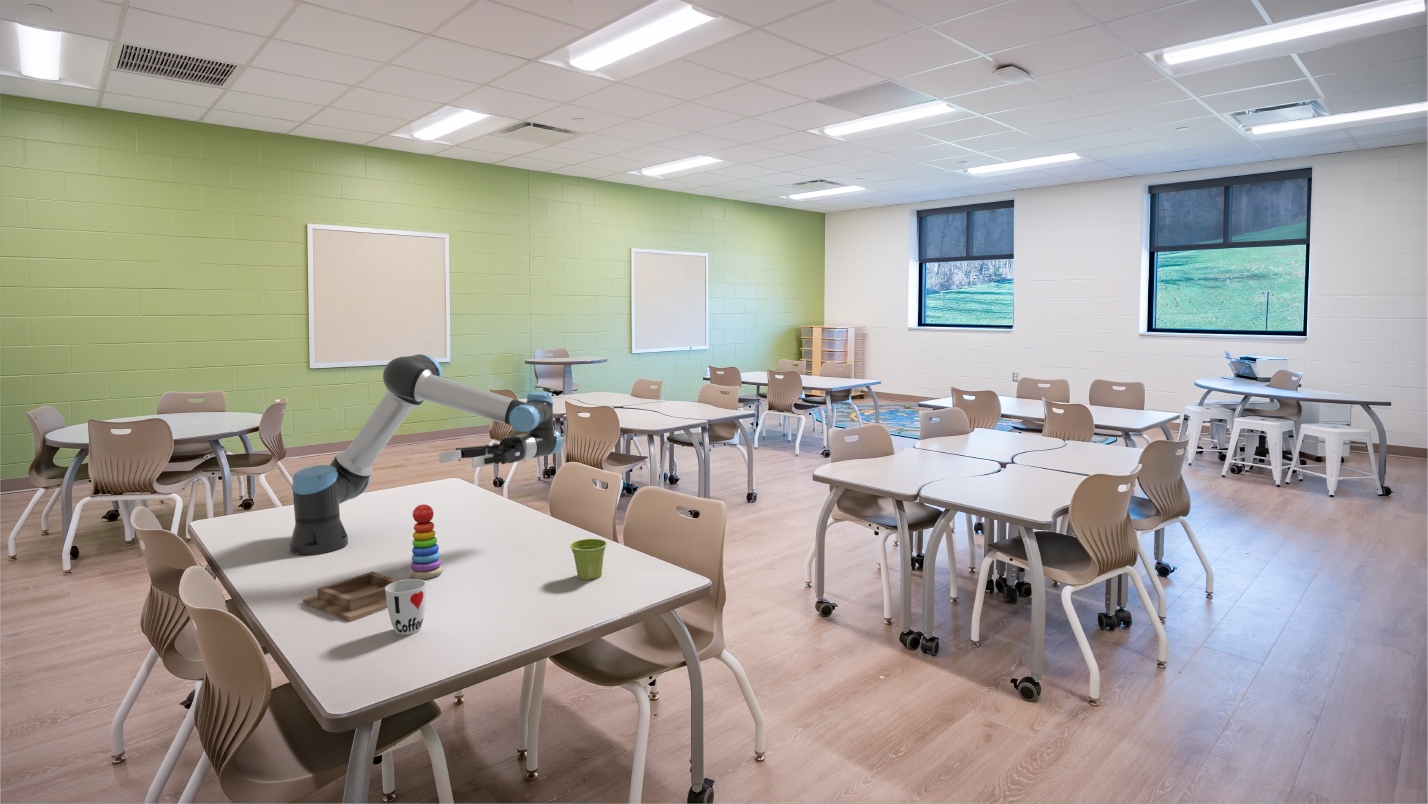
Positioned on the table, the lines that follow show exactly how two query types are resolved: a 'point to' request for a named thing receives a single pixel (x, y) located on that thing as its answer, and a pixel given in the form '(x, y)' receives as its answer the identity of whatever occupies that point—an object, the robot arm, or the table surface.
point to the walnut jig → (353, 596)
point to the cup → (406, 605)
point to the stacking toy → (425, 545)
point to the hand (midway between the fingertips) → (456, 460)
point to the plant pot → (589, 557)
